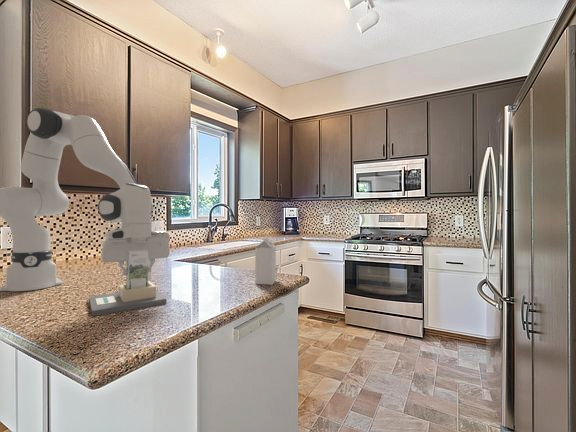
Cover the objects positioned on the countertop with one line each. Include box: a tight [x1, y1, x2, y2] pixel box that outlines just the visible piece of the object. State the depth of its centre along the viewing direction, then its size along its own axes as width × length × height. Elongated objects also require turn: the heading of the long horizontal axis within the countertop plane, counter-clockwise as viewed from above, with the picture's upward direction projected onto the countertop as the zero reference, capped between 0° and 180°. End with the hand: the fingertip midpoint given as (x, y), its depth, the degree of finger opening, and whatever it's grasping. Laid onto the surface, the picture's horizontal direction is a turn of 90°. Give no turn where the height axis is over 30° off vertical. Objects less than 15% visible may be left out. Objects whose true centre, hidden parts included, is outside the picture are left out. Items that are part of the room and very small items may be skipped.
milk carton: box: [254, 236, 277, 286], centre depth 123 cm, size 7×7×19 cm
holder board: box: [88, 281, 167, 317], centre depth 96 cm, size 18×20×5 cm
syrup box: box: [125, 250, 148, 290], centre depth 98 cm, size 6×6×14 cm
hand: (136, 273), depth 98 cm, fingers closed on syrup box, 6 cm apart
